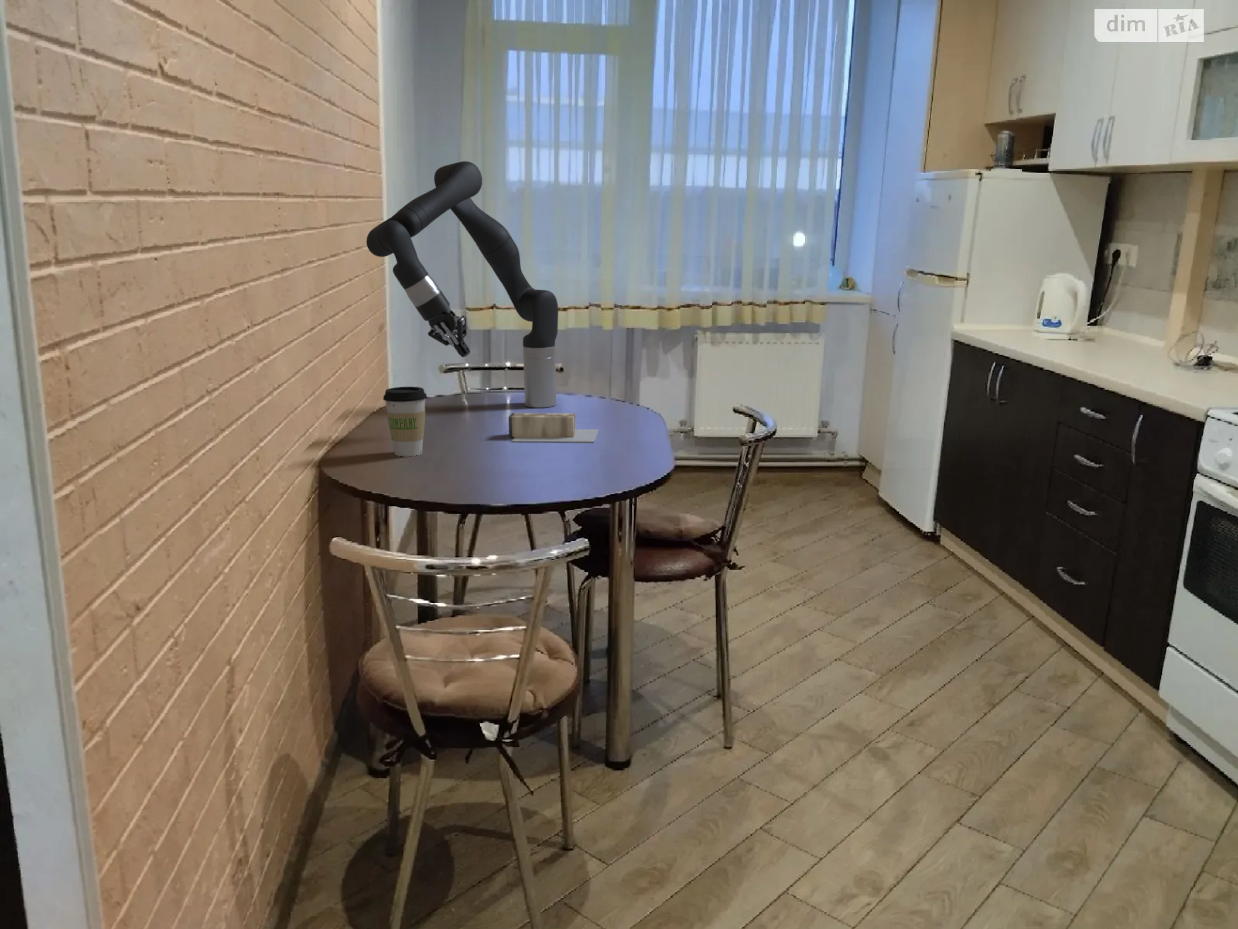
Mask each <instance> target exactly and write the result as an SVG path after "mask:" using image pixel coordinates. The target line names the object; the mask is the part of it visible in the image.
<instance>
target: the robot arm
mask: <svg viewBox="0 0 1238 929" xmlns="http://www.w3.org/2000/svg"><path fill="white" fill-rule="evenodd" d="M433 182H434V185H435V188H433V189H431V190H429V191H426V192H425V193H423V194H421V195H419V196H417V197H416V198H414V199H412V200H410V201H409V202H408V203H406V204H405V205H404V206H403V207H402V208H401V207H400V209H399V210H397V211H396V213H395V214H393V215H392V216H391V217H389V218H387V219H386V220H384V221H383V222H381V223H379V224H378V225H376V226H374V228H372V229H371V230H370V231H369V232H368V234H367V236H366V242H365V243H366V248H367V249H368V251H369V252H370V253H371V254H373V256H376V257H380V258H385V257H388V256H390V255H392V254H393V255H394V258H395V261H396V263H395V264H394V266H393V267H392V273H393V275H394V276H395V278H396V280H397V282H398V283H399V284H400V286H401V287H402V288H403V290H404V292H405V293H406V295H407V298H409V301H410V302H411V303H412V305H413V306H414V308H415V309H416V310H417V313H419V315H420V316H421V318H422V319H423V320H424V321H426V322H428V324H429V327H430V329H429V331H428V332H427V335H428V336H429V337H430V338H432V339H434V340H435V341H437V342H439V343H441V344H442V345H444V346H446V347H447V346H449V345H450V346H451V347H453V348H454V349H455V351H456V352H457V353H458V355H459V356H460V357H461V358H465V357H467V356H469V354H471V349H470V347H469V346H468V345H467V343H466V342H465V340H464V338H466V336H467V334H468V333H467V332H468V330H467V317H466V315H461V316H459V315H456V313H455V312H454V311H453V310H452V309H451V306H450V305H451V304H450V302H449V300H448V299H447V298H446V296H445V294H444V293H443V291H442V290H441V288H440V287H439V286H438V284H437V282H436V281H435V280H434V278H433V277H432V276H431V275H430V274H429V272H428V271H427V270H426V268H425V267H424V265H423V264H422V263H421V261H420V259H419V257H418V254H417V251H416V248H415V245H414V243H413V240H412V238H414V237H415V236H417V235H419V233H421V232H422V231H423V230H424V229H426V228H427V227H428V226H429V225H430V224H432V223H433V222H434V221H436V219H438V218H439V217H440V216H442V215H443V214H445V213H446V212H447V211H448V210H451V212H452V213H453V214H454V215H455V217H457V219H458V220H459V222H460V223H461V225H462V226H463V228H464V229H465V230H466V232H467V233H468V234H469V236H470V237H471V239H472V240H473V242H474V243H475V244H476V246H477V248H478V249H479V251H480V253H481V255H482V256H483V258H484V259H485V261H486V262H487V264H489V266H490V268H491V269H492V271H493V272H494V274H495V275H496V277H497V279H498V280H499V281H500V283H501V284H502V286H503V288H504V290H505V291H506V294H507V295H508V297H509V300H510V301H511V304H512V306H513V307H514V310H515V311H516V313H517V314H518V316H519V318H521V319H523V320H525V321H527V322H530V323H531V322H532V323H531V331H530V332H529V333H528V334H526V335H524V336H523V338H522V357H523V360H522V361H523V383H524V384H523V386H524V388H523V389H524V390H523V392H524V394H523V395H524V406H526V407H527V408H528V407H529V408H549V407H550V408H551V407H554V406H556V405H557V375H556V374H557V370H556V367H557V366H556V339H557V336H558V330H559V326H558V325H559V304H558V299H557V297H556V296H555V294H554V293H553V292H551V291H549V290H545V289H535V288H533V286H531V284H530V283H529V281H528V280H527V279H526V277H525V275H524V274H523V271H522V267H521V257H520V256H521V255H520V250H519V248H518V246H517V244H516V242H515V240H514V239H513V237H512V236H511V234H510V232H509V231H508V229H507V228H506V227H505V226H504V225H503V224H502V223H501V222H499V221H498V220H497V219H495V218H493V217H492V216H490V215H489V214H487V213H486V212H485V211H483V210H482V209H481V208H480V207H478V206H477V204H476V203H475V201H473V199H472V197H475V196H476V195H477V194H478V193H479V192H480V191H481V189H482V186H483V175H482V173H481V170H480V169H479V167H478V165H476V164H475V163H473V162H472V161H471V162H470V161H465V160H463V161H457V162H454V163H450V164H446V165H443V166H440V167H438V169H436V171H435V172H434V177H433Z"/></svg>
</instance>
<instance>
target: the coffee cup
mask: <svg viewBox="0 0 1238 929" xmlns="http://www.w3.org/2000/svg"><path fill="white" fill-rule="evenodd" d="M427 398H428V395H427V393H426V392H425V389H424V388H423V387H421V386H420V387H419V386H399V387H398V386H397V387H391V388H387V389H386V390H385V392H384V395H383V398H382V400H383V401H385V406H386V411H385V412H386V416H387V417H386V418H387V421H388V427H389V432H390V438H391V441H392V446H393V450H394V456H396V455H398V456H397V457H400V456H403V457H404V458H405V457H406V458H408V457H409V458H410V456H411V457H417V456H420V455H422V454H423V447H424V446H423V443H424V442H423V440H424V437H425V421H426V420H425V419H426V399H427ZM416 455H417V456H416ZM403 457H402V458H403Z"/></svg>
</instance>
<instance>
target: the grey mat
mask: <svg viewBox="0 0 1238 929" xmlns="http://www.w3.org/2000/svg"><path fill="white" fill-rule="evenodd" d="M575 429H576V433H575V435H574V437H513V439H512V440H511V442H512V443H581V444H582V443H585V444H586V443H587V444H588V443H590V444H591V443H595V441H596V439H597V436H598V434H599V432H600V429H593V428H592V429H591V428H589V429H585V428H583V429H582V428H580V429H579V428H578V429H577V428H575Z"/></svg>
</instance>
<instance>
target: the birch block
mask: <svg viewBox="0 0 1238 929" xmlns="http://www.w3.org/2000/svg"><path fill="white" fill-rule="evenodd" d="M576 429H577V428H576V413H573V412H572V413H571V412H570V413H565V412H564V413H561V412H559V413H557V412H556V413H553V412H552V413H550V412H549V413H548V412H547V413H546V412H543V413H542V412H541V413H540V412H537V413H536V412H532V413H531V412H529V413H528V412H525V413H524V412H511V414H510V415H509V416H508V437H509V438H515V437H574V435H575V433H576Z"/></svg>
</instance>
